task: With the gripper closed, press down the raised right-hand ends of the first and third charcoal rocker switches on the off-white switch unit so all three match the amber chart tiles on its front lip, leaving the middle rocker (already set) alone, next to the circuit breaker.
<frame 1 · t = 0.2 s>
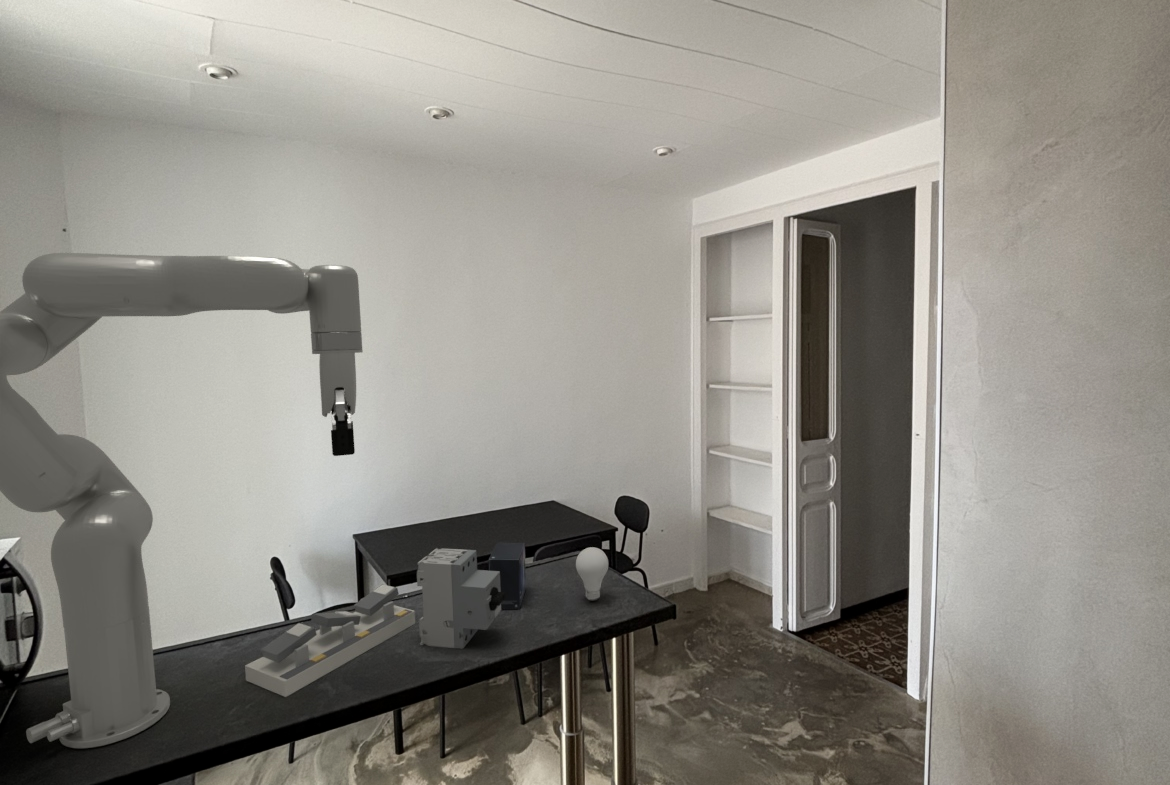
hand: (343, 449, 99), 36 cm above the table, tool pointing down, fingers open, 9 cm apart
rocker 3: (376, 599, 114), point 6 cm above the table, hinge at -12.0°
rocker 2: (336, 618, 106), point 6 cm above the table, hinge at 20.0°
circuit breaker: (466, 639, 110), on the table
switch unit: (338, 649, 107), on the table
light bulb: (592, 601, 124), on the table
small box: (509, 600, 126), on the table
rocker 1: (289, 641, 98), point 6 cm above the table, hinge at -12.0°
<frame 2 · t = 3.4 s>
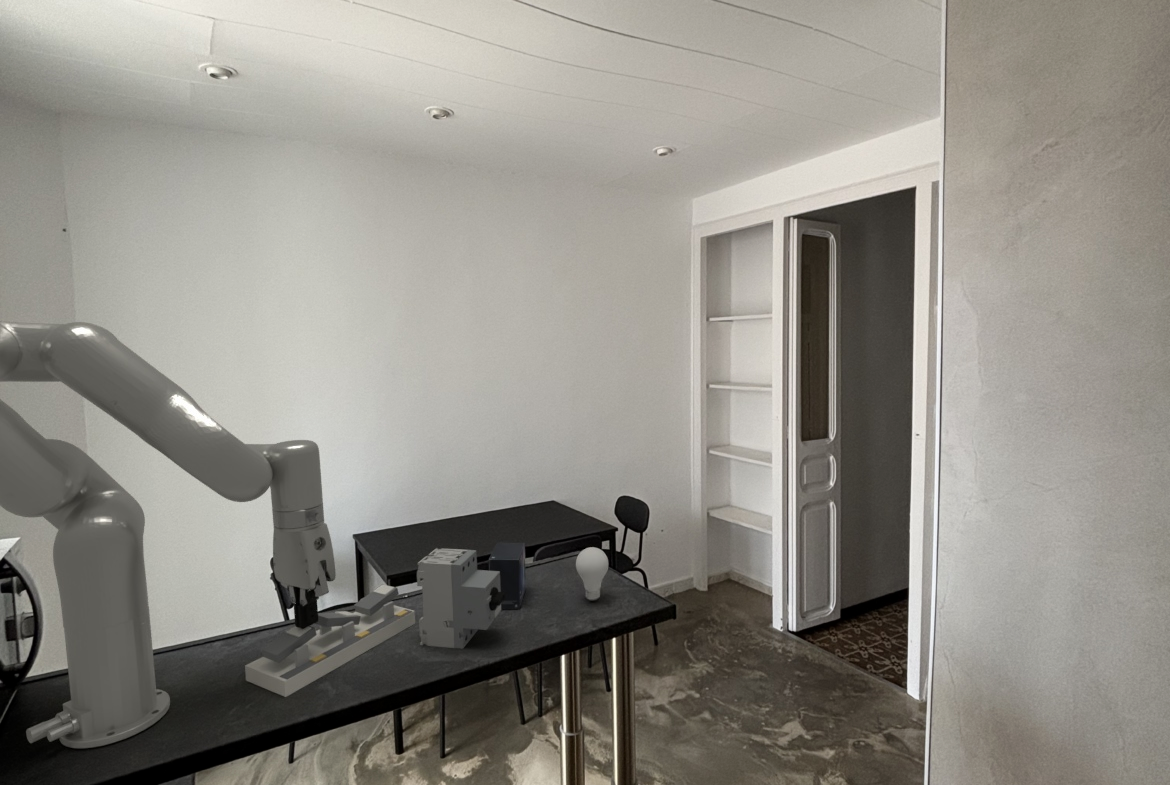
hand: (307, 624, 101), 7 cm above the table, tool pointing down, fingers closed
rocker 1: (289, 641, 98), point 6 cm above the table, hinge at -12.0°, touching gripper
everything else where it was.
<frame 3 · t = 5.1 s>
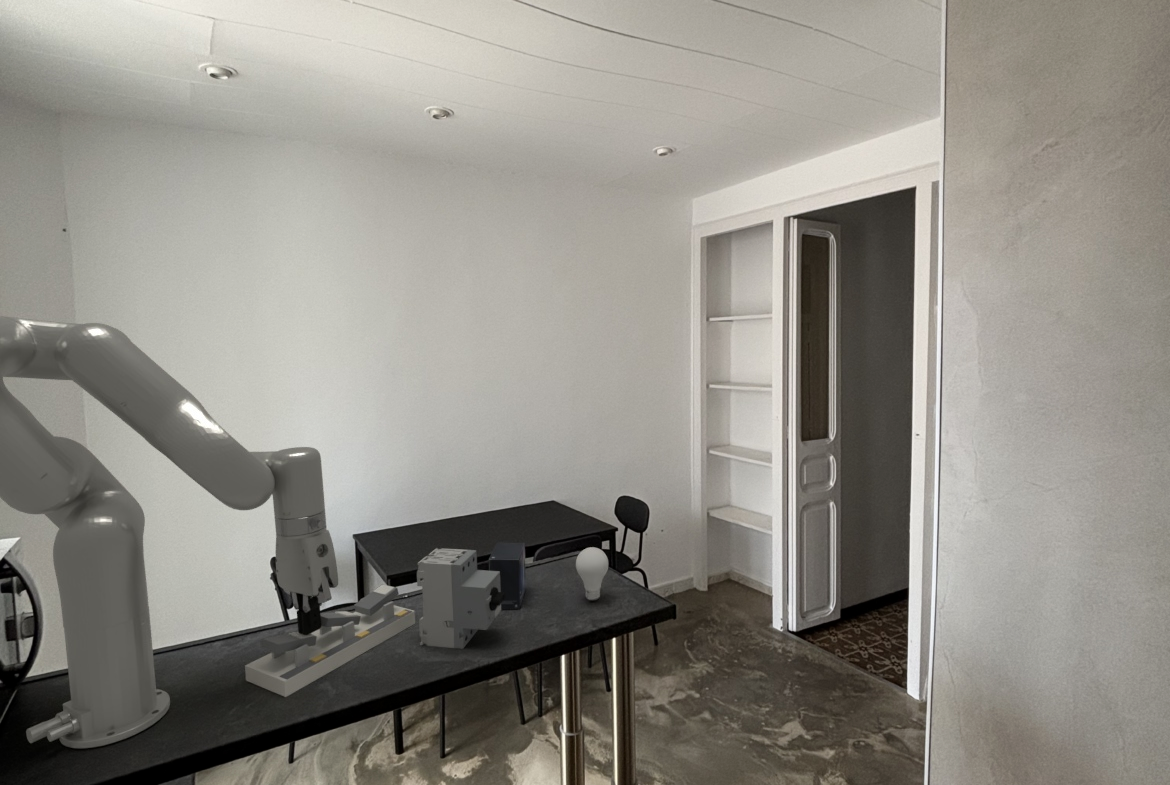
hand: (310, 630, 101), 6 cm above the table, tool pointing down, fingers closed
rocker 1: (289, 641, 98), point 6 cm above the table, hinge at 14.6°, touching gripper
everything else where it was.
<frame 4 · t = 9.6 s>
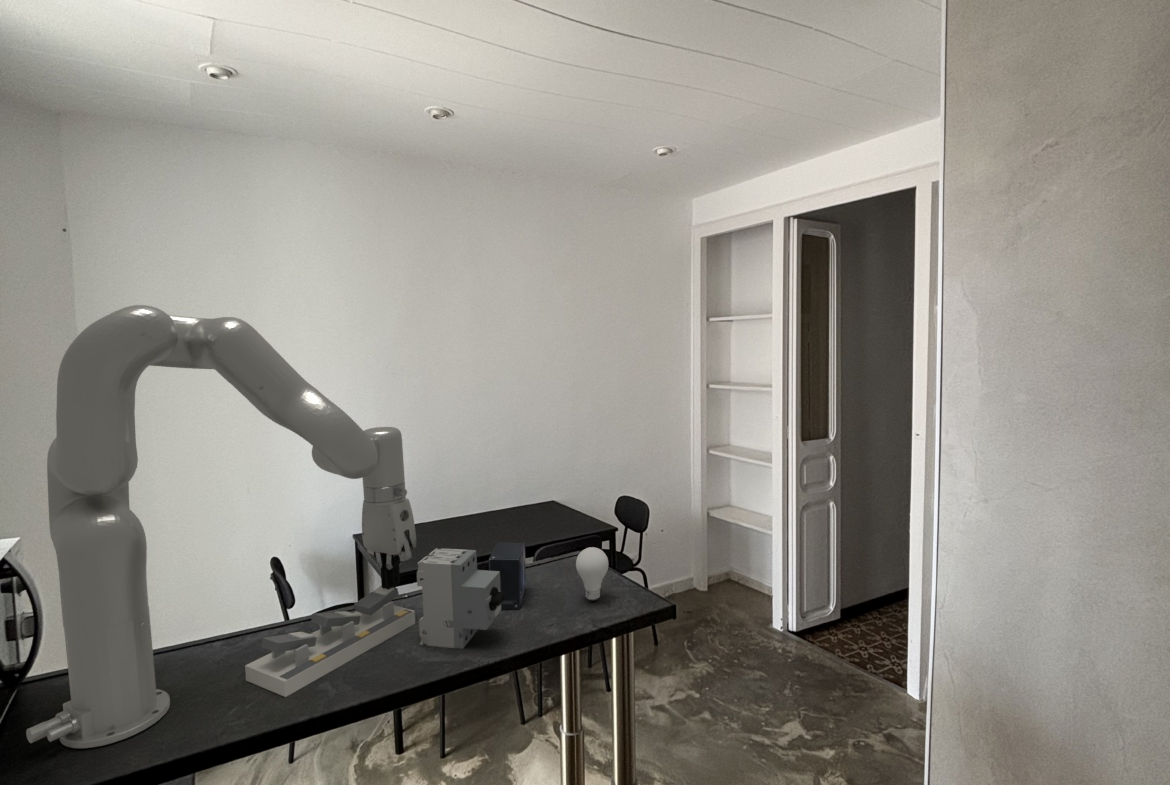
hand: (391, 585, 117), 7 cm above the table, tool pointing down, fingers closed
rocker 3: (376, 599, 114), point 6 cm above the table, hinge at -9.6°, touching gripper
rocker 1: (289, 641, 98), point 6 cm above the table, hinge at 17.0°
everything else where it was.
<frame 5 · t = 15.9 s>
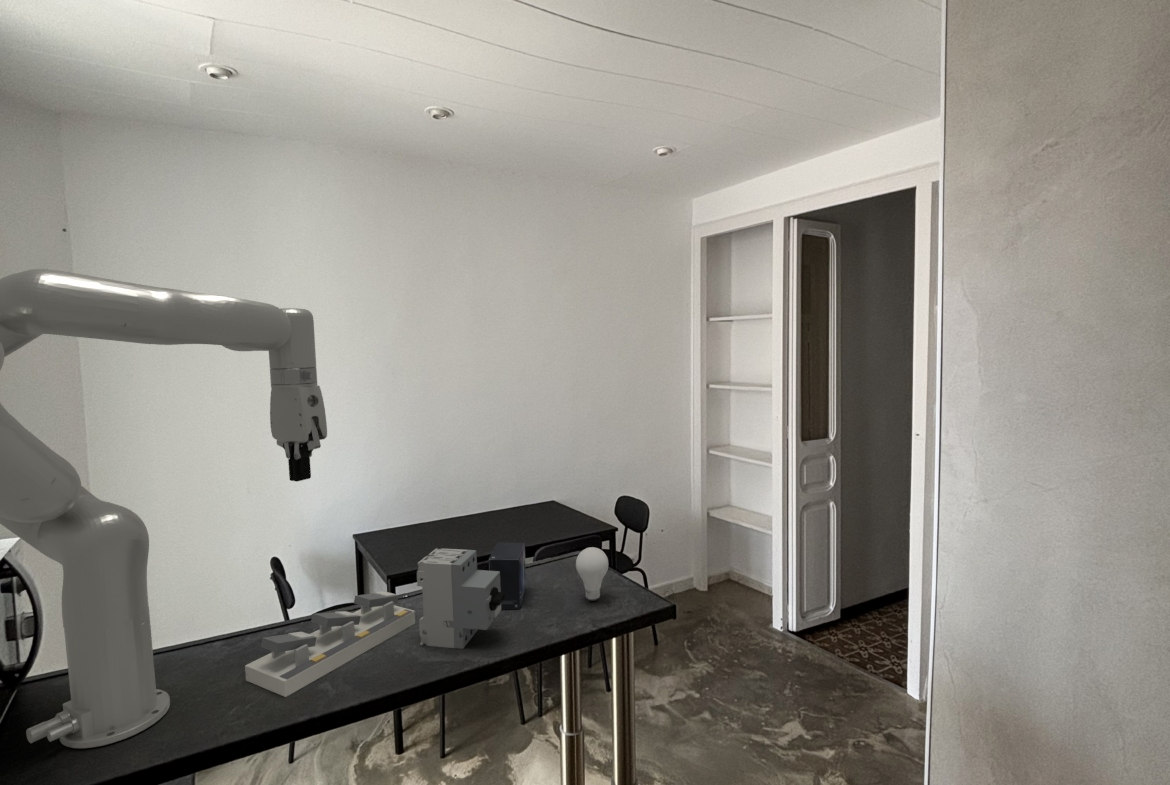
hand: (300, 479, 110), 29 cm above the table, tool pointing down, fingers closed
rocker 3: (376, 599, 114), point 6 cm above the table, hinge at 15.4°
everything else where it was.
at the end: rocker 1 at +17° (first picture: -12°); rocker 3 at +15° (first picture: -12°); rocker 2 at +20° (first picture: +20°) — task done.
